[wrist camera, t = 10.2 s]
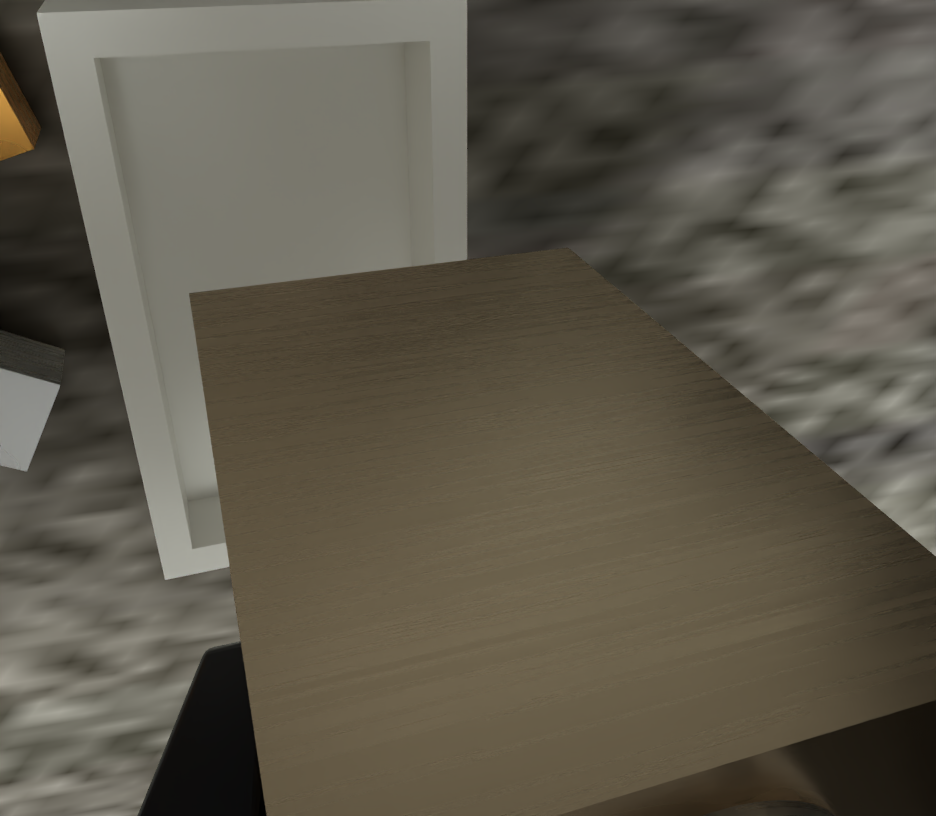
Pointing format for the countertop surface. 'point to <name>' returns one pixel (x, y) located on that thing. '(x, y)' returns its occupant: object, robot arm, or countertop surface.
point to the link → (547, 562)
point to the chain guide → (247, 183)
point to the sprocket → (9, 355)
